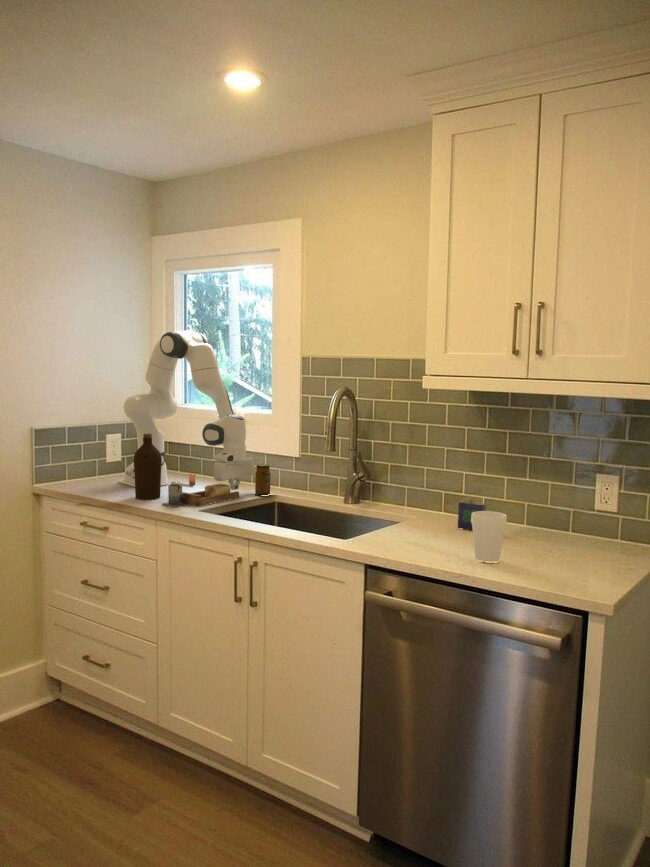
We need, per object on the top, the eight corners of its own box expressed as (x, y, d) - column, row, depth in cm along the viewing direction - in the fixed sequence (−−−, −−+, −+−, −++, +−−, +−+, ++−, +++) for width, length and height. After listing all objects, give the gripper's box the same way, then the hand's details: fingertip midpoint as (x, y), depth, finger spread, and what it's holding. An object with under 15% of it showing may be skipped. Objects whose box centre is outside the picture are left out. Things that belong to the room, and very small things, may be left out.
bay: (175, 502, 275) (175, 491, 274) (217, 494, 292) (217, 484, 292) (197, 506, 268) (197, 495, 267) (239, 498, 285) (239, 488, 285)
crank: (169, 484, 268) (169, 471, 268) (175, 483, 271) (175, 470, 270) (190, 488, 261) (190, 475, 261) (197, 487, 264) (197, 473, 264)
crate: (204, 499, 283) (204, 485, 282) (219, 496, 289) (219, 483, 289) (215, 501, 279) (215, 487, 279) (230, 498, 286) (230, 485, 285)
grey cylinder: (162, 505, 269) (162, 485, 268) (176, 502, 274) (176, 483, 274) (175, 507, 265) (175, 487, 264) (188, 505, 270) (188, 485, 269)
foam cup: (464, 561, 199) (466, 515, 198) (477, 554, 207) (478, 509, 206) (497, 567, 194) (499, 519, 193) (509, 560, 202) (511, 513, 200)
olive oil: (166, 498, 282) (166, 434, 279) (140, 501, 276) (139, 435, 273) (155, 494, 290) (154, 432, 288) (129, 496, 284) (129, 433, 282)
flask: (486, 530, 237) (487, 498, 236) (483, 532, 234) (484, 499, 233) (459, 527, 241) (460, 495, 240) (455, 528, 239) (456, 496, 238)
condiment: (265, 492, 299) (265, 463, 298) (277, 495, 293) (277, 466, 292) (250, 494, 295) (250, 464, 294) (262, 497, 288) (262, 467, 287)
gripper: (246, 452, 300) (246, 485, 302) (211, 456, 284) (211, 491, 285) (258, 453, 297) (257, 487, 298) (222, 458, 280) (222, 493, 282)
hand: (234, 489), depth 292 cm, fingers closed
